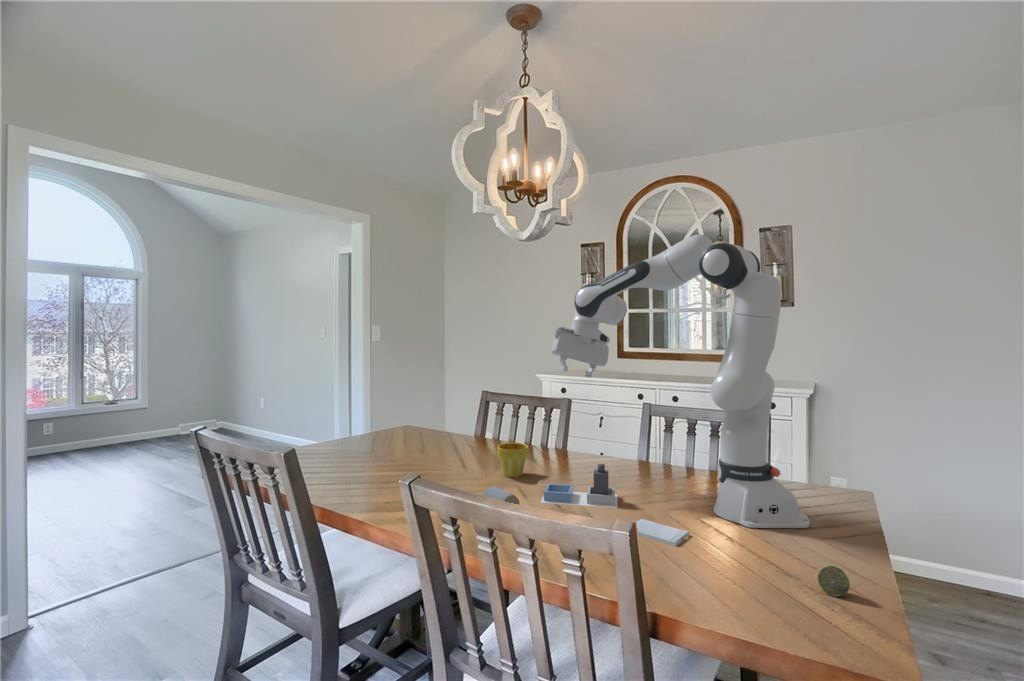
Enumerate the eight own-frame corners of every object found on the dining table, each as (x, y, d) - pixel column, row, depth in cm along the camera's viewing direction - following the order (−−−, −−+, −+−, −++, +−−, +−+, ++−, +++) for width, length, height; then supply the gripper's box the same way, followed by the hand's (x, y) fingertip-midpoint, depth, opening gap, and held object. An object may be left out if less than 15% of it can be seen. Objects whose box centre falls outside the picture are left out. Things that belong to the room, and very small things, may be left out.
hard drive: (626, 527, 124) (675, 541, 115) (641, 518, 130) (689, 530, 122) (626, 534, 124) (675, 548, 115) (641, 524, 130) (689, 537, 122)
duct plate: (617, 497, 148) (617, 486, 148) (617, 511, 137) (617, 498, 137) (545, 493, 152) (545, 481, 152) (540, 506, 141) (540, 493, 141)
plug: (608, 497, 145) (608, 463, 145) (608, 502, 141) (608, 467, 141) (594, 497, 146) (594, 462, 146) (593, 501, 142) (593, 466, 142)
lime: (853, 600, 92) (853, 573, 92) (824, 598, 93) (824, 571, 93) (841, 588, 97) (842, 562, 97) (814, 586, 98) (814, 560, 98)
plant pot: (526, 479, 166) (526, 450, 165) (495, 478, 167) (494, 449, 167) (530, 471, 176) (529, 442, 176) (500, 469, 177) (500, 442, 177)
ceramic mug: (502, 527, 127) (502, 496, 127) (479, 518, 132) (480, 489, 132) (530, 516, 135) (530, 487, 134) (507, 508, 140) (508, 480, 140)
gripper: (562, 324, 160) (554, 367, 159) (613, 339, 169) (606, 380, 167) (552, 325, 166) (544, 367, 164) (602, 340, 175) (595, 379, 173)
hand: (576, 374), depth 166 cm, fingers open, 8 cm apart
